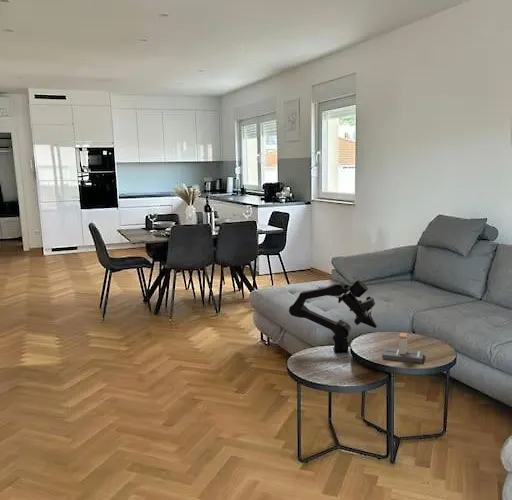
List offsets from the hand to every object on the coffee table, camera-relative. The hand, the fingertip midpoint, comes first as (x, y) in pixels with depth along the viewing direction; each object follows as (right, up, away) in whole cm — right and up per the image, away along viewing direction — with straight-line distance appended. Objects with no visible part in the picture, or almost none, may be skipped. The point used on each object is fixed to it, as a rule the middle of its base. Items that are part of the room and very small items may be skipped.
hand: (376, 327), depth 238 cm
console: (+12, -14, -2) cm, 19 cm away
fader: (+12, -11, -3) cm, 17 cm away
